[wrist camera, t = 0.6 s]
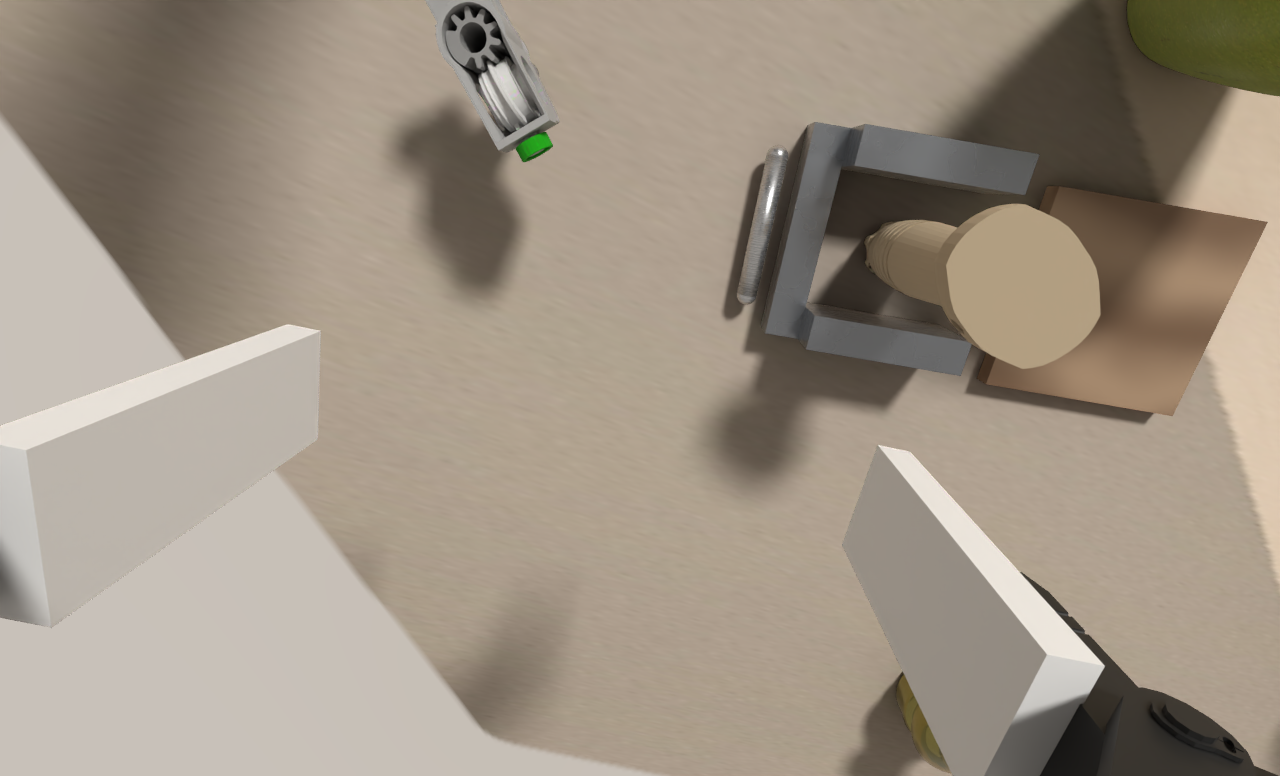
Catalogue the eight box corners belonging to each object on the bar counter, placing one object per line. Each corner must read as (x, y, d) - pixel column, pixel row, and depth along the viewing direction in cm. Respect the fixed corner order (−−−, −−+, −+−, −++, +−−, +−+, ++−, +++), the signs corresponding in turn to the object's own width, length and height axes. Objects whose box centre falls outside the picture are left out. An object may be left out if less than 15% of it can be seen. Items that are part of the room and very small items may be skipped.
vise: (771, 119, 35) (785, 110, 30) (994, 157, 35) (1039, 154, 30) (728, 320, 39) (735, 337, 34) (928, 354, 39) (960, 375, 34)
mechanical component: (500, -30, 33) (432, -115, 24) (591, 148, 36) (561, 135, 26) (456, 0, 34) (371, -72, 24) (548, 172, 36) (504, 169, 27)
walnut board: (1047, 185, 35) (1059, 185, 34) (1248, 220, 35) (1267, 222, 34) (976, 378, 39) (986, 384, 38) (1157, 409, 39) (1172, 416, 38)
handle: (884, 313, 38) (1011, 391, 24) (823, 235, 37) (919, 268, 22) (951, 262, 37) (1127, 311, 23) (890, 179, 35) (1037, 177, 21)
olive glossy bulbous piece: (906, 645, 46) (967, 764, 37) (1004, 657, 46) (1090, 779, 37) (883, 718, 48) (935, 847, 39) (975, 729, 48) (1049, 862, 39)
